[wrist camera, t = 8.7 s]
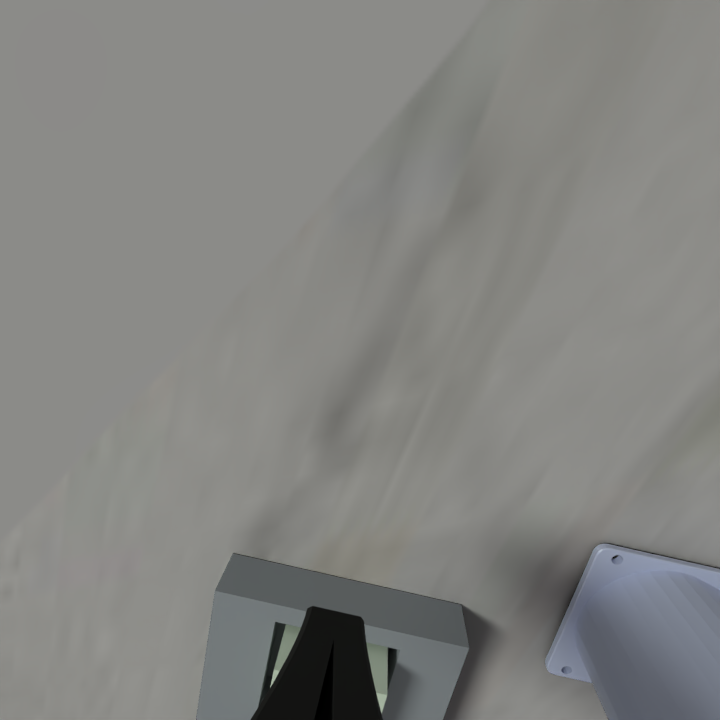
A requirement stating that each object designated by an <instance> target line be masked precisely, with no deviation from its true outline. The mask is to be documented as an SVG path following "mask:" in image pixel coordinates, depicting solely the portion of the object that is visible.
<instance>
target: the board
mask: <svg viewBox="0 0 720 720" xmlns="http://www.w3.org/2000/svg"><path fill="white" fill-rule="evenodd" d="M311 606H316V607H320V608H325V609H329V610H333V611H338V612H342V613H347V614H351V615H356V616H360V617H362V619H363V620H364V625H365V635H366V642H367V643H371V644H376V645H380V646H385V647H388V676H387V698H386V701H385V704H384V708H383V711H382V718H383V720H443V718H444V715H445V713H446V710H447V707H448V704H449V702H450V699H451V696H452V694H453V691H454V688H455V685H456V683H457V680H458V677H459V675H460V672H461V669H462V667H463V664H464V661H465V658H466V656H467V653H468V650H469V644H468V639H467V633H466V628H465V622H464V617H463V612H462V606H461V605H460V604H456V603H451V602H447V601H442V600H438V599H434V598H429V597H425V596H420V595H416V594H411V593H407V592H402V591H398V590H394V589H389V588H385V587H380V586H376V585H371V584H367V583H363V582H358V581H354V580H349V579H345V578H340V577H336V576H331V575H327V574H323V573H318V572H314V571H309V570H305V569H300V568H296V567H291V566H287V565H283V564H278V563H274V562H269V561H265V560H260V559H256V558H252V557H247V556H243V555H238V554H234V553H233V555H232V557H231V559H230V561H229V563H228V565H227V567H226V569H225V571H224V573H223V575H222V577H221V579H220V581H219V583H218V586H217V588H216V590H215V594H214V601H213V607H212V614H211V621H210V628H209V635H208V641H207V648H206V655H205V662H204V669H203V675H202V682H201V689H200V696H199V703H198V709H197V716H196V720H251V718H252V716H253V715H254V713H255V712H256V710H257V708H258V707H259V705H260V704H261V702H262V700H263V699H264V697H265V696H266V694H267V693H268V691H269V689H270V686H271V681H272V677H273V672H274V667H275V664H276V660H277V656H278V652H279V649H280V645H281V641H282V637H283V634H284V630H285V626H286V624H287V625H292V626H296V627H301V626H302V624H303V621H304V618H305V615H306V611H307V608H309V607H311Z"/></svg>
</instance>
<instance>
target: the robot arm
mask: <svg viewBox="0 0 720 720" xmlns="http://www.w3.org/2000/svg"><path fill="white" fill-rule="evenodd" d="M616 555H619V556H618V557H617V558H614V559H612V558H613V557H614V556H616ZM545 664H546V667H547V670H548V671H549V672H550V673H551V674H554V675H558V676H563V677H567V678H572V679H576V680H581V681H585V682H589V683H593V686H594V688H595V690H596V692H597V695H598V697H599V699H600V701H601V704H602V706H603V708H604V710H605V713H606V715H607V717H608V720H720V569H718V568H713V567H709V566H704V565H700V564H695V563H691V562H686V561H682V560H677V559H673V558H669V557H664V556H660V555H655V554H651V553H646V552H642V551H637V550H633V549H628V548H624V547H620V546H615V545H611V544H600V545H598V546H596V547H595V548H594V550H593V552H592V554H591V556H590V559H589V561H588V563H587V566H586V568H585V570H584V572H583V575H582V577H581V579H580V582H579V584H578V586H577V588H576V591H575V593H574V595H573V598H572V600H571V602H570V604H569V607H568V609H567V611H566V614H565V616H564V618H563V620H562V623H561V625H560V627H559V630H558V632H557V634H556V636H555V639H554V641H553V643H552V646H551V648H550V650H549V652H548V655H547V657H546V659H545ZM565 666H566V667H565ZM251 720H383V718H382V714H381V710H380V706H379V702H378V698H377V694H376V690H375V685H374V681H373V676H372V671H371V666H370V661H369V656H368V650H367V643H366V635H365V625H364V620H363V619H362V617H360V616H356V615H351V614H347V613H342V612H338V611H333V610H329V609H325V608H320V607H316V606H311V607H309V608H307V611H306V615H305V618H304V621H303V624H302V626H301V629H300V631H299V634H298V636H297V638H296V640H295V642H294V645H293V647H292V649H291V651H290V653H289V655H288V657H287V659H286V660H285V662H284V664H283V666H282V668H281V670H280V671H279V673H278V675H277V677H276V679H275V681H274V682H273V684H272V686H271V688H270V689H269V691H268V693H267V694H266V696H265V697H264V699H263V700H262V702H261V704H260V705H259V707H258V708H257V710H256V712H255V713H254V715H253V716H252V718H251Z"/></svg>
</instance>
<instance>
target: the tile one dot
mask: <svg viewBox="0 0 720 720" xmlns="http://www.w3.org/2000/svg"><path fill="white" fill-rule="evenodd" d="M300 629H301V627H296V626H292V625H287V624H286V626H285V630H284V634H283V637H282V641H281V645H280V649H279V652H278V656H277V660H276V664H275V667H274V672H273V677H272V681H271V686H272V684H273V682H274V681H275V679H276V677H277V675H278V673H279V671H280V670H281V668H282V666H283V664H284V662H285V660H286V659H287V657H288V655H289V653H290V651H291V649H292V647H293V645H294V642H295V640H296V638H297V636H298V634H299V631H300ZM366 643H367V642H366ZM367 650H368V656H369V661H370V666H371V671H372V676H373V681H374V685H375V690H376V694H377V698H378V702H379V706H380V710H381V714H382V711H383V708H384V704H385V701H386V698H387V676H388V647H385V646H380V645H376V644H371V643H367ZM271 686H270V688H271Z"/></svg>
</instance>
